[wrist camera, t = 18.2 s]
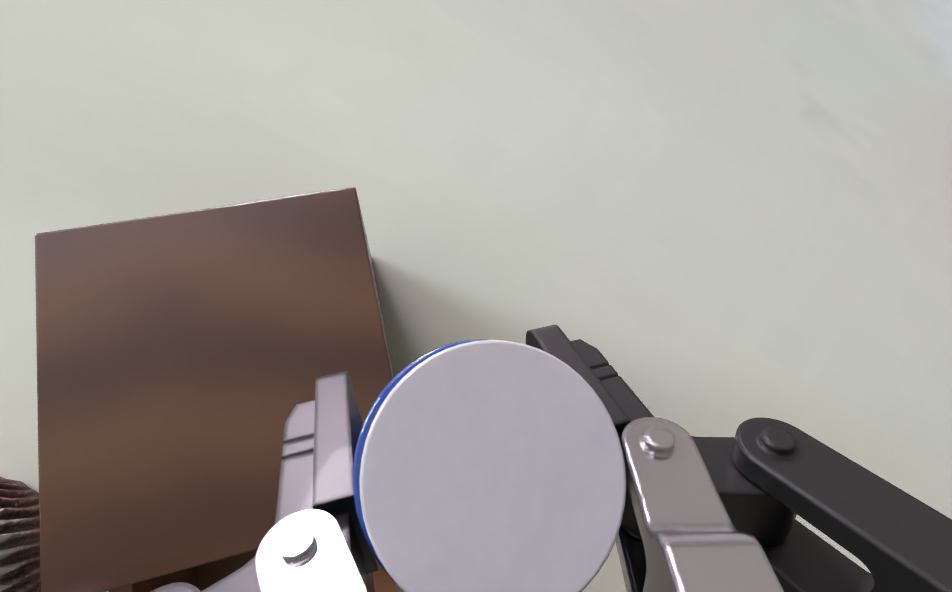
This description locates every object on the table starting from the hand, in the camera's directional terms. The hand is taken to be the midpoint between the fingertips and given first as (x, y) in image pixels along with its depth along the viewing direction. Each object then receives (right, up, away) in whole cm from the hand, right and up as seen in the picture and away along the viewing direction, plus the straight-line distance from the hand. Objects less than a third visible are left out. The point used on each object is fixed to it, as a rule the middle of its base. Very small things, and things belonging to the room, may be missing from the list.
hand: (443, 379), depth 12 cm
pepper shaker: (0, -3, +4) cm, 5 cm away
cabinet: (-10, -3, +15) cm, 19 cm away
